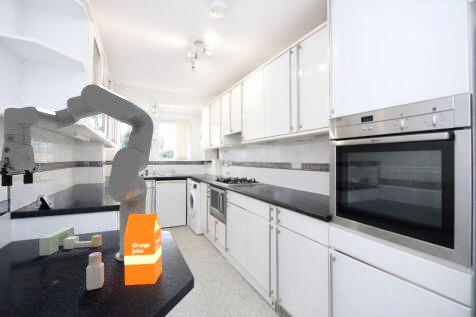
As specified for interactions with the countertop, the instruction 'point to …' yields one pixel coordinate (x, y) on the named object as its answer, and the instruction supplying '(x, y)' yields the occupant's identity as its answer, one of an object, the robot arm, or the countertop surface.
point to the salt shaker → (95, 271)
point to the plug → (74, 242)
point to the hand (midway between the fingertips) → (18, 184)
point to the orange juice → (142, 249)
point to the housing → (54, 240)
